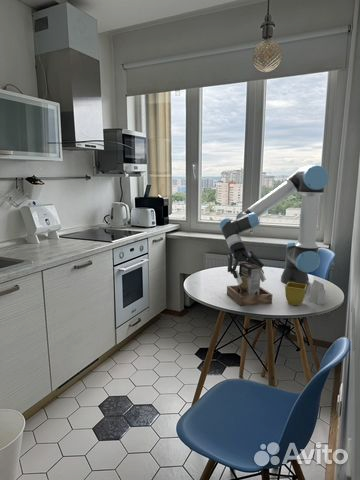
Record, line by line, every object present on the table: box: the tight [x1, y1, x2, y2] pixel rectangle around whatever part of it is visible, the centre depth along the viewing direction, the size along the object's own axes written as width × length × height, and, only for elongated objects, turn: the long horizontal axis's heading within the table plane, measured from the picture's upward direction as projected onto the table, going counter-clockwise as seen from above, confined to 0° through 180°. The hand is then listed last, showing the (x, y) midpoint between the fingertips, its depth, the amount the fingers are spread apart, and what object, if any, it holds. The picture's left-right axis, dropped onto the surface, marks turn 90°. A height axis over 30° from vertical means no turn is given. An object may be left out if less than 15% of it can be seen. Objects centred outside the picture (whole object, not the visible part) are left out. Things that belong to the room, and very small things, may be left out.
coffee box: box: [238, 262, 261, 296], centre depth 158 cm, size 9×6×16 cm
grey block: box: [308, 279, 326, 305], centre depth 157 cm, size 4×7×10 cm, turn 10°
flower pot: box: [284, 282, 308, 307], centre depth 154 cm, size 9×9×9 cm
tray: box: [226, 284, 273, 307], centre depth 159 cm, size 16×16×4 cm
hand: (252, 282), depth 156 cm, fingers open, 13 cm apart
